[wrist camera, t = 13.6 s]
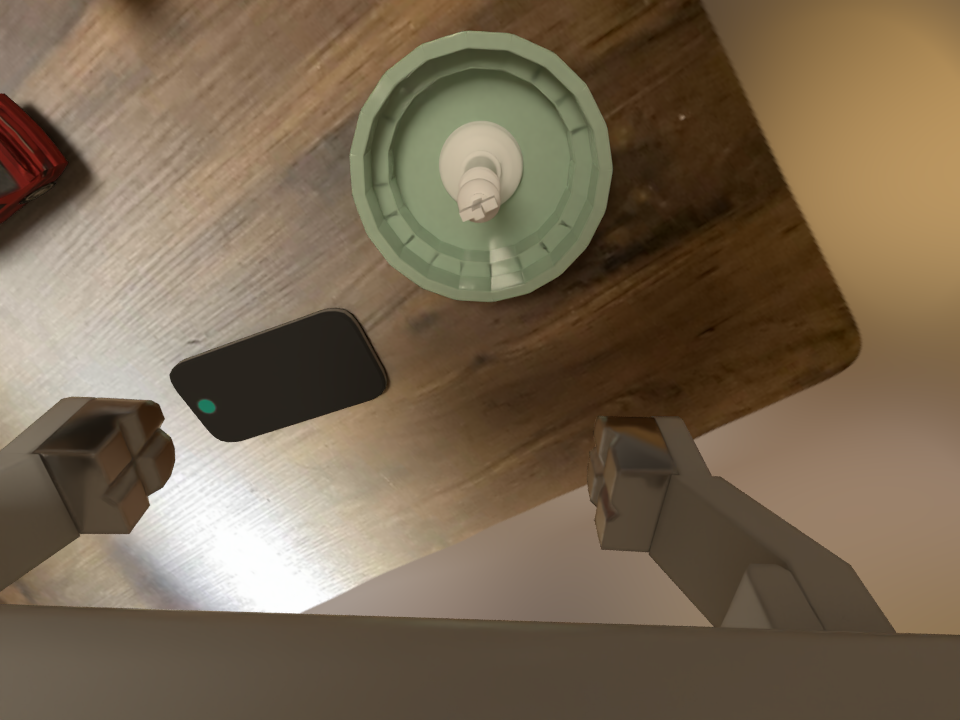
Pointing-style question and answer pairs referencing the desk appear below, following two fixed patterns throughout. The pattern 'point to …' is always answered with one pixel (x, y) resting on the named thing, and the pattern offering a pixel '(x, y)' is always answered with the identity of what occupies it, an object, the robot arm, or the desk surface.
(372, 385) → the smartphone
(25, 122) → the toy car
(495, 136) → the chess piece
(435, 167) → the bowl
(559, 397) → the desk surface
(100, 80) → the desk surface
